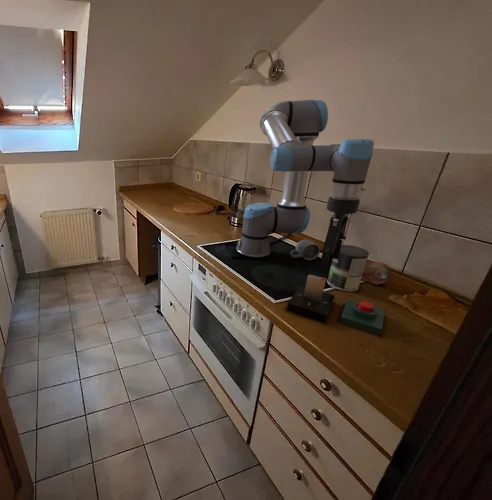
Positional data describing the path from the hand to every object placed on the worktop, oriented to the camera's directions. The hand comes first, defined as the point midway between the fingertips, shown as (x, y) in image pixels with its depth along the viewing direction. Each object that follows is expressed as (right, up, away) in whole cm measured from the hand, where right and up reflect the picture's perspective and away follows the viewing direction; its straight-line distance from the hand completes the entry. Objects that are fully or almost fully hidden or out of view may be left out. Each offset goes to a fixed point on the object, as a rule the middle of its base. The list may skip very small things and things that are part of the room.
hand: (328, 265), depth 92 cm
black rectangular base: (-1, -14, +8) cm, 16 cm away
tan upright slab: (-1, -11, +6) cm, 13 cm away
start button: (+11, -13, -1) cm, 17 cm away
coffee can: (+18, -8, +20) cm, 28 cm away
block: (+11, -17, +1) cm, 20 cm away
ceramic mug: (+16, +1, +44) cm, 46 cm away
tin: (+29, -7, +24) cm, 38 cm away
